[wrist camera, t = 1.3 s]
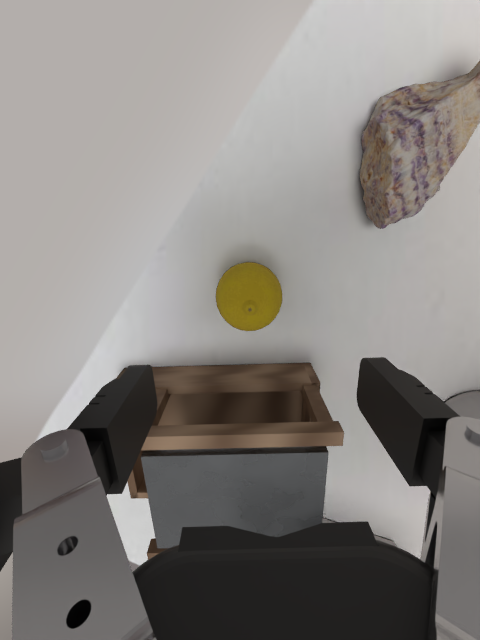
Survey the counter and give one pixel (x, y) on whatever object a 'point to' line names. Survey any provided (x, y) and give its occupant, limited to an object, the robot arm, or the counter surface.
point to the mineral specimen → (416, 144)
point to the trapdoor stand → (235, 412)
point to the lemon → (249, 296)
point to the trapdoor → (235, 489)
